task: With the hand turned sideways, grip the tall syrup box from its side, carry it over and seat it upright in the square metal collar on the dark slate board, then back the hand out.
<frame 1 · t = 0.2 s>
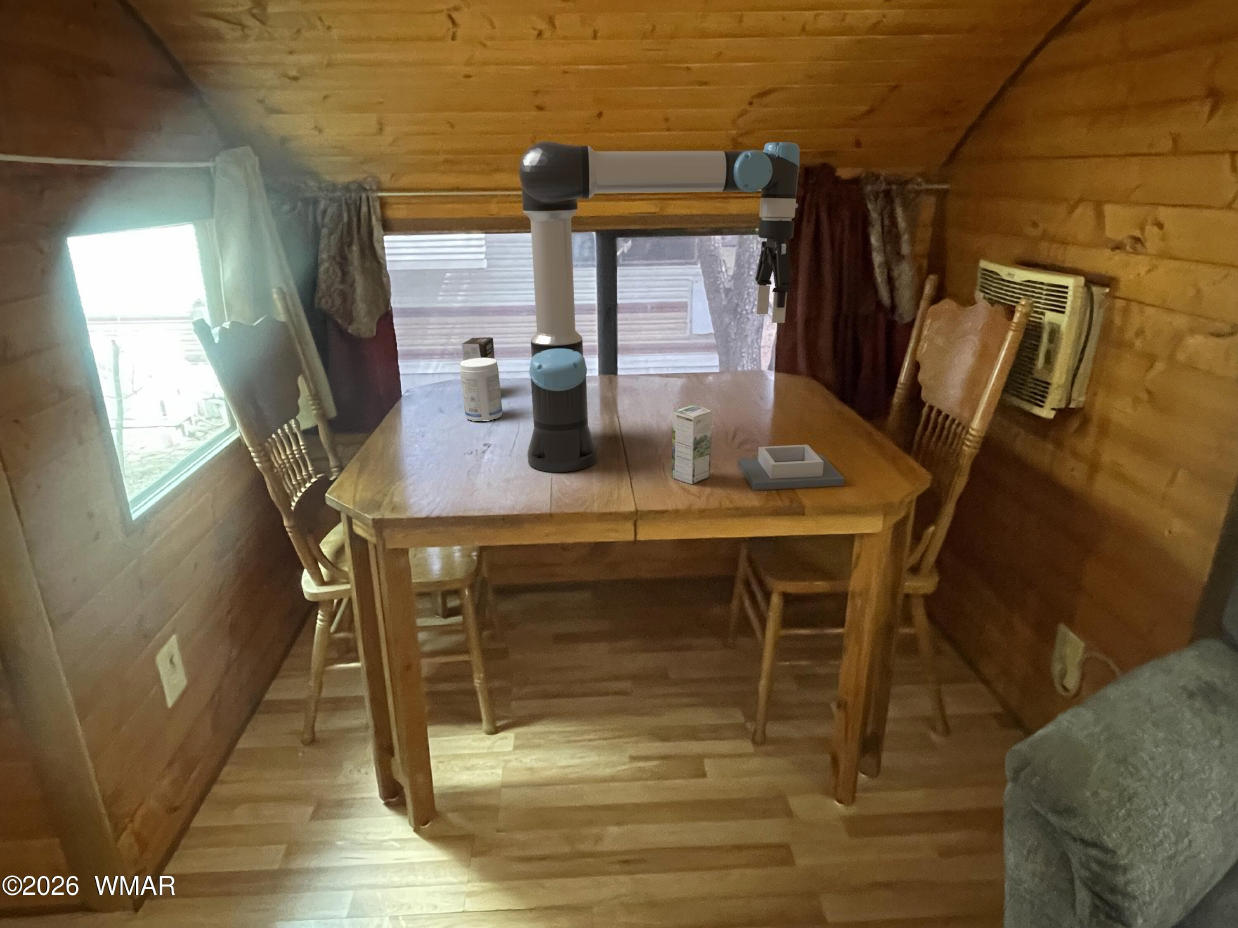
hand: (769, 318, 178), 27 cm above the table, tool pointing down, fingers open, 13 cm apart
supplement tub: (483, 418, 204), on the table
syrup box: (691, 479, 161), on the table
socket board: (788, 474, 162), on the table
coffee box: (482, 397, 223), on the table
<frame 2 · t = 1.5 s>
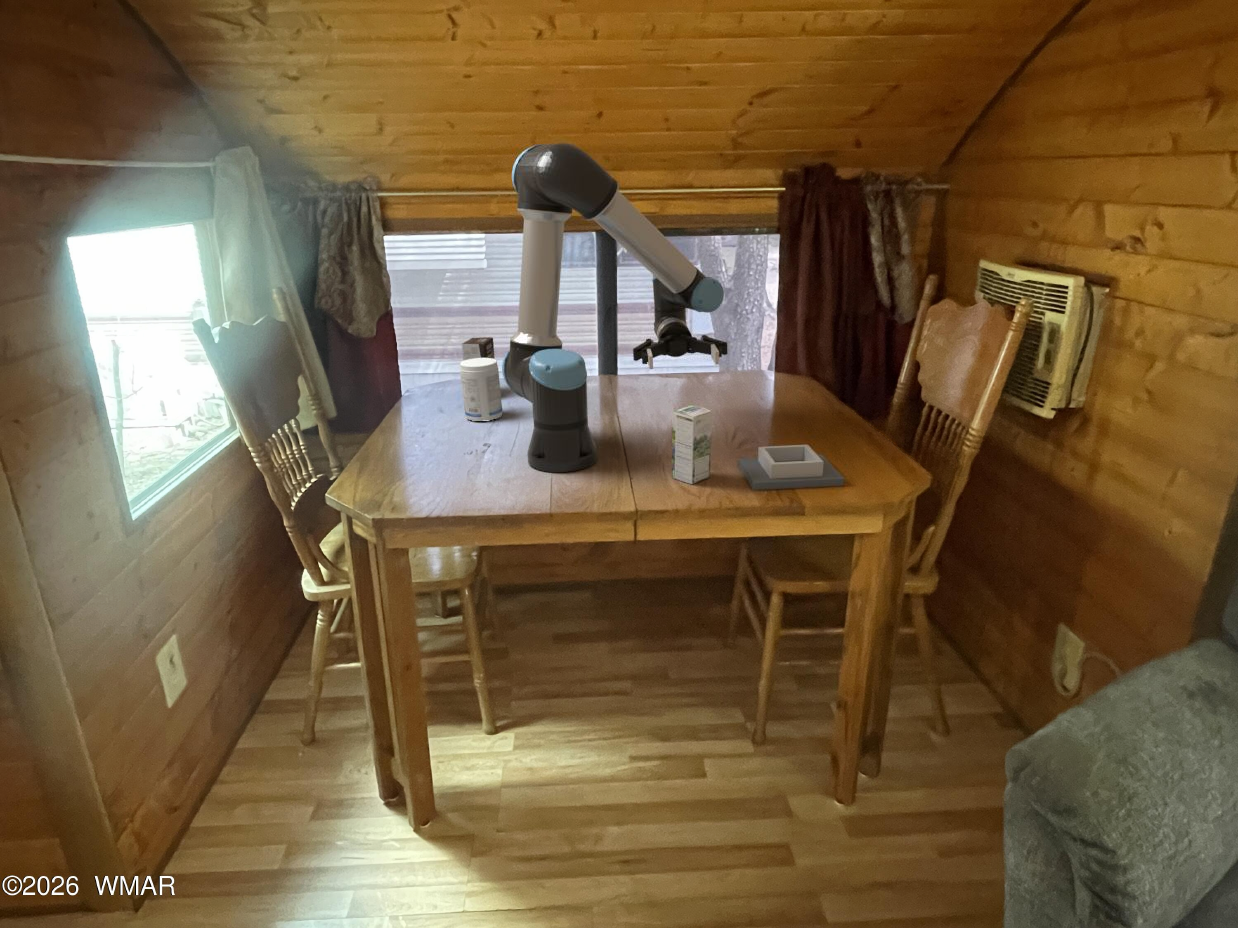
hand: (684, 360, 162), 22 cm above the table, tool horizontal, fingers open, 13 cm apart
nothing on the table moved.
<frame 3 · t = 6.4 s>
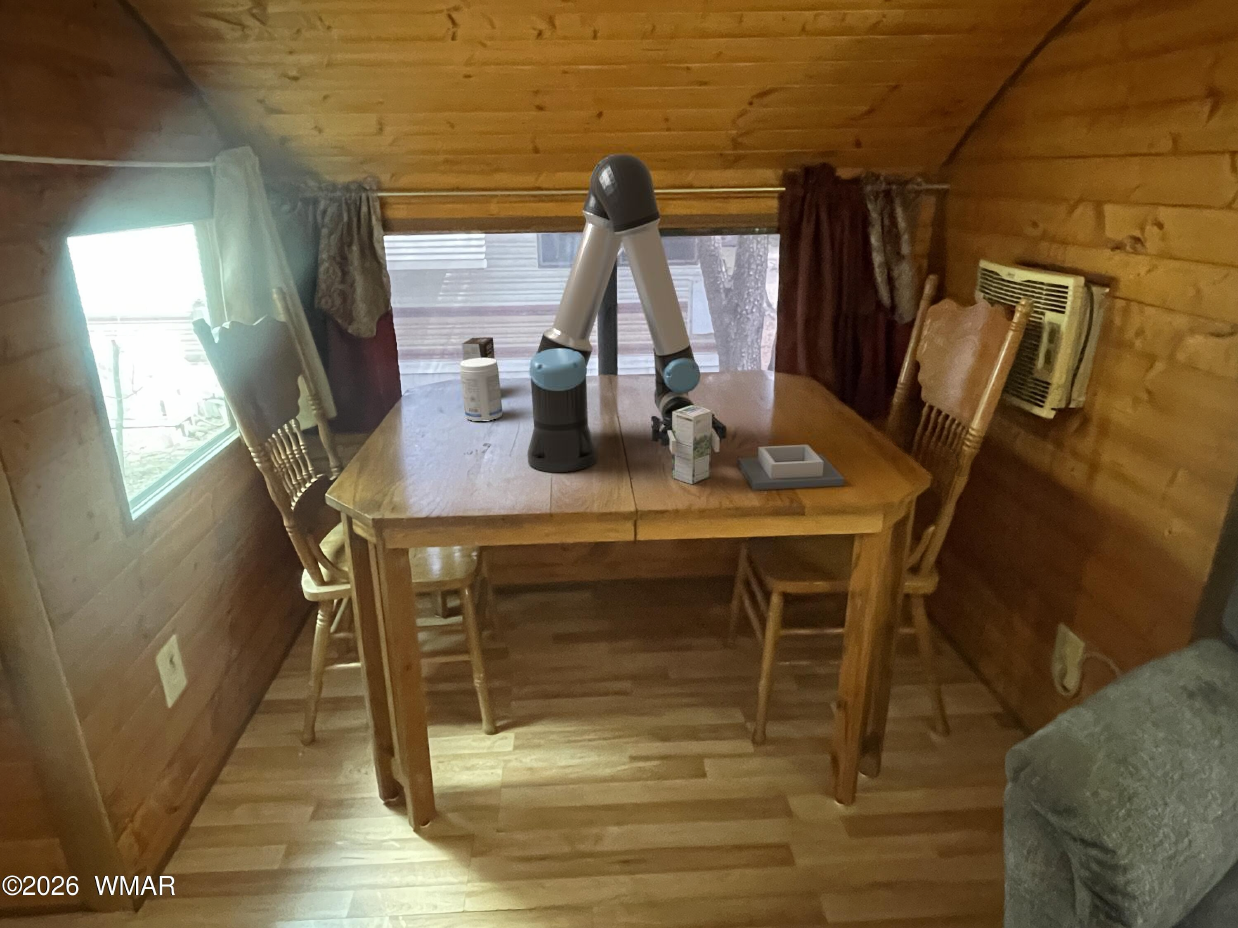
hand: (695, 446, 154), 9 cm above the table, tool horizontal, fingers closed on syrup box, 8 cm apart
syrup box: (691, 478, 161), on the table, touching gripper
everything else where it was.
when the fingers open (12 cm above the table, at t = 11.6 s): syrup box drops 2 cm, resting on socket board.
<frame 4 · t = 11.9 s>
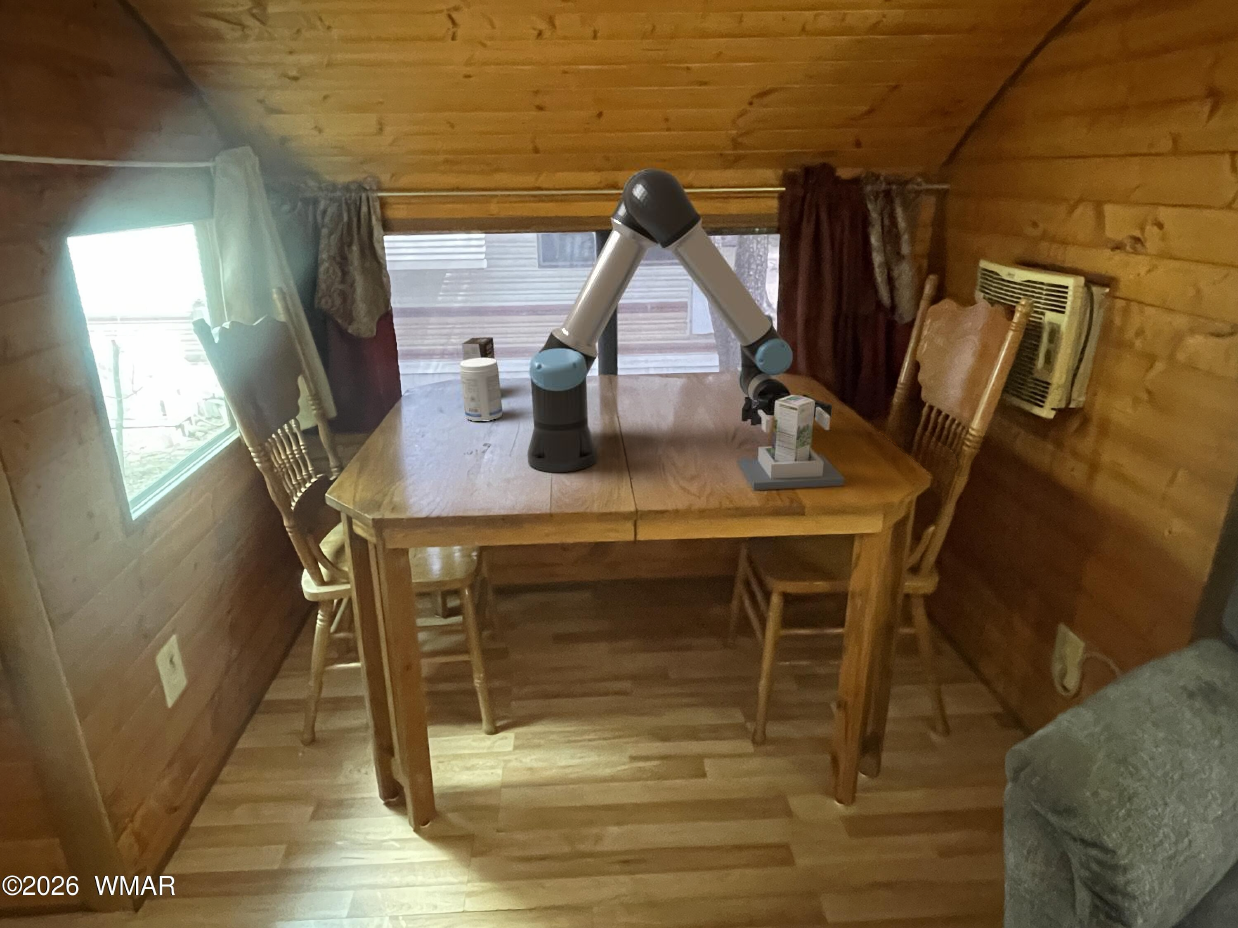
hand: (797, 424, 154), 12 cm above the table, tool horizontal, fingers open, 11 cm apart
syrup box: (790, 468, 161), point 1 cm above the table, touching socket board
everything else where it was.
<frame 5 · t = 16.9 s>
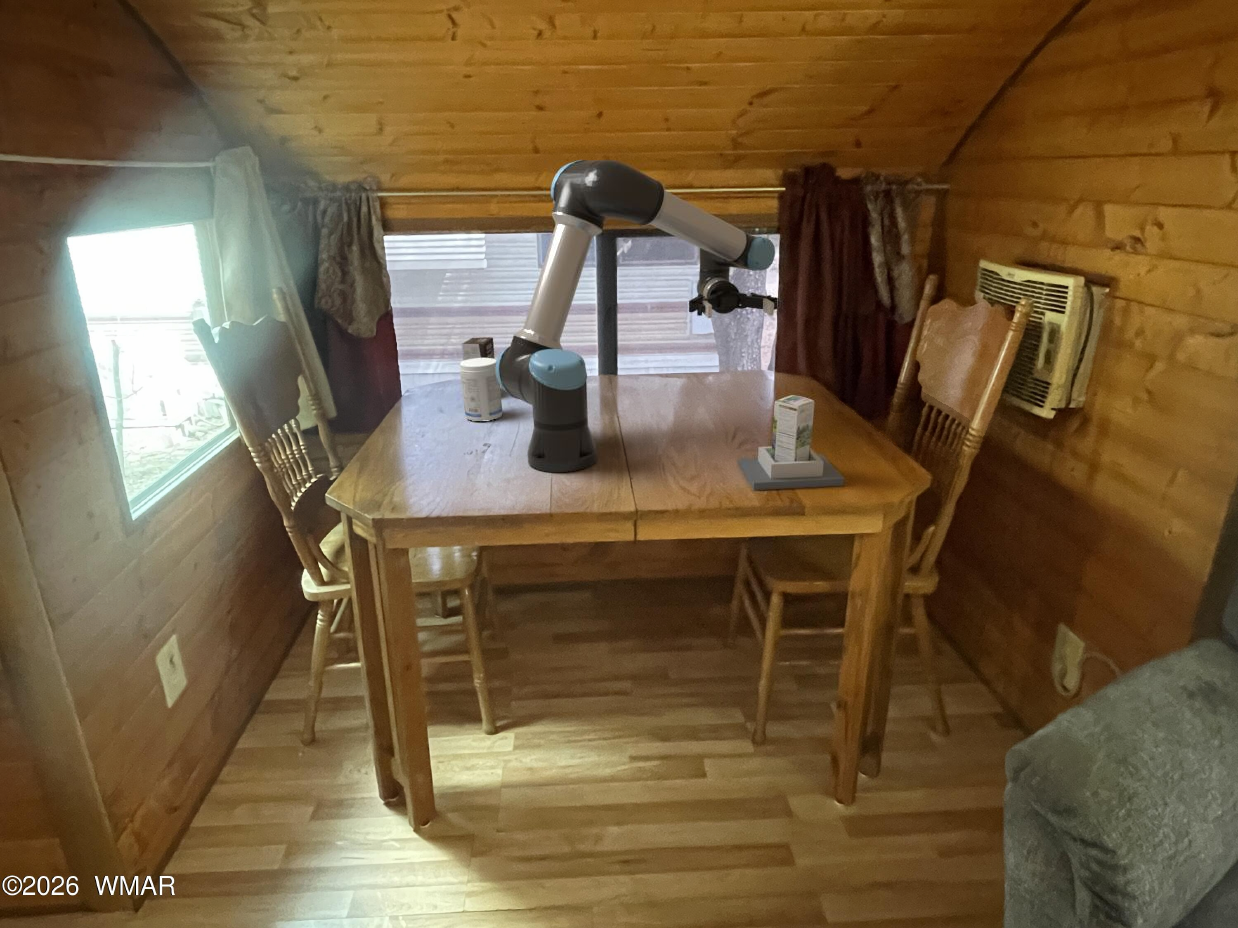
hand: (741, 310, 171), 30 cm above the table, tool horizontal, fingers open, 13 cm apart
nothing on the table moved.
at the end: syrup box 0.2 cm off-centre on the socket board, point 1.3 cm above the socket board's base; syrup box tilted 0°; the gripper is holding nothing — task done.
